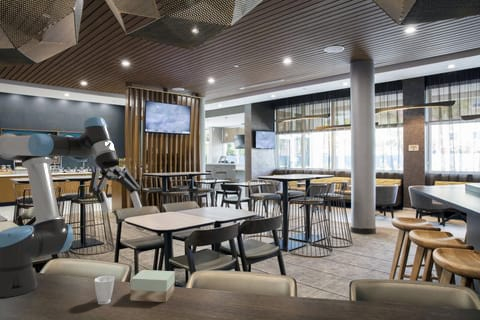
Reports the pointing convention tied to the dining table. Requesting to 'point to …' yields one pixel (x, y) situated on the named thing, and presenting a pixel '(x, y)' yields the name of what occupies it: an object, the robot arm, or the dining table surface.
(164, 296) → the bottom block
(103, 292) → the cup
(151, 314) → the dining table surface
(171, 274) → the top block
